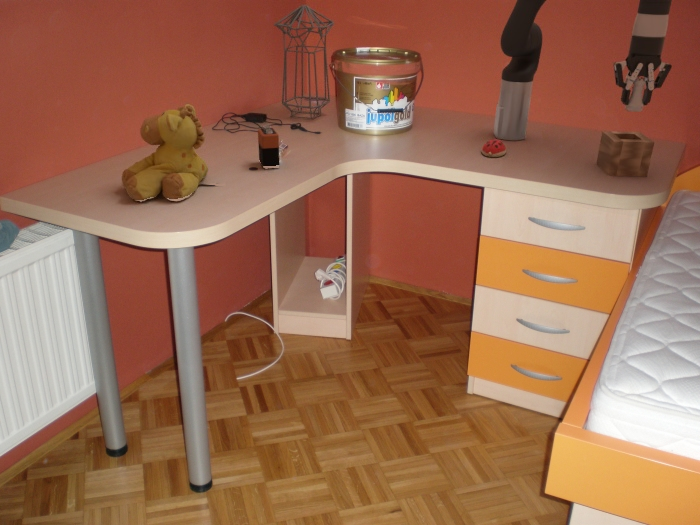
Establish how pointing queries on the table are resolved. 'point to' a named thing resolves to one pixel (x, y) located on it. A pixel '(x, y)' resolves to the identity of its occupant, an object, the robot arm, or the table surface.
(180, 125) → the giraffe plush
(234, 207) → the table surface
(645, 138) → the socket block
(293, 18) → the geometric lantern
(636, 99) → the rook chess piece
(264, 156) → the battery
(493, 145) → the ladybug figurine
